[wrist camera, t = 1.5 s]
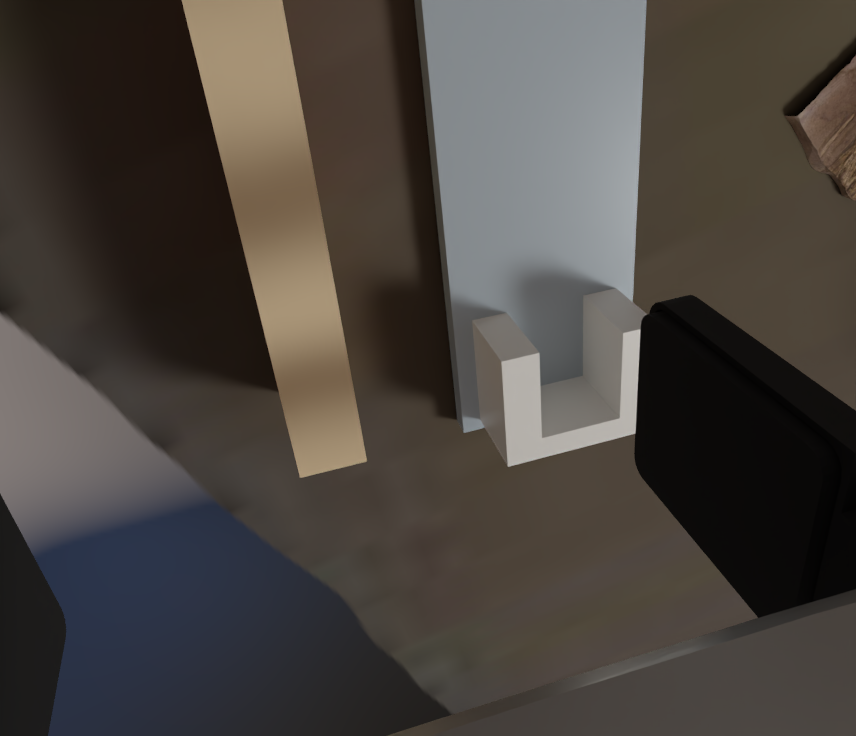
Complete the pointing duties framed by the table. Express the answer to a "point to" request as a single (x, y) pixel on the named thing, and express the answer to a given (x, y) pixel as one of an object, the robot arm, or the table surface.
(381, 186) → the table surface
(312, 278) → the slat
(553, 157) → the endcap board
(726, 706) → the robot arm
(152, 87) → the table surface
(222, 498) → the table surface
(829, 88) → the wooden fragment
